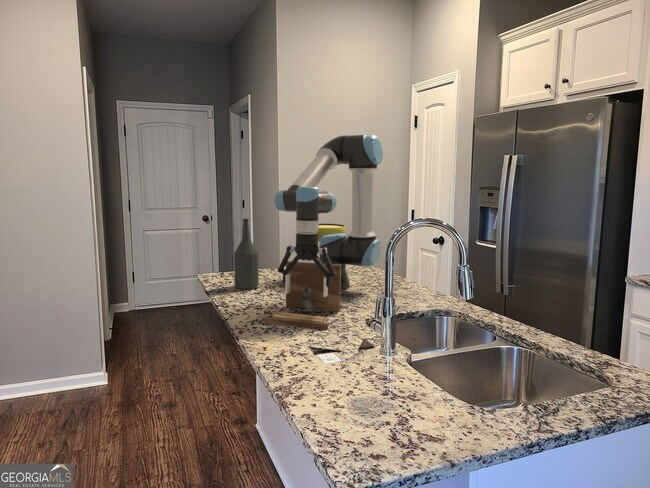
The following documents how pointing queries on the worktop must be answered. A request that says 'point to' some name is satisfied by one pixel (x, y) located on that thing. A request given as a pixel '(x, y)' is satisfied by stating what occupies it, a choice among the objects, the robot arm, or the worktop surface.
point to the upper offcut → (299, 317)
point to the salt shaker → (306, 302)
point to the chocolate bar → (364, 345)
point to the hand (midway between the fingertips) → (306, 294)
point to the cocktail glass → (329, 229)
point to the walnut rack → (315, 280)
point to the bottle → (246, 262)
